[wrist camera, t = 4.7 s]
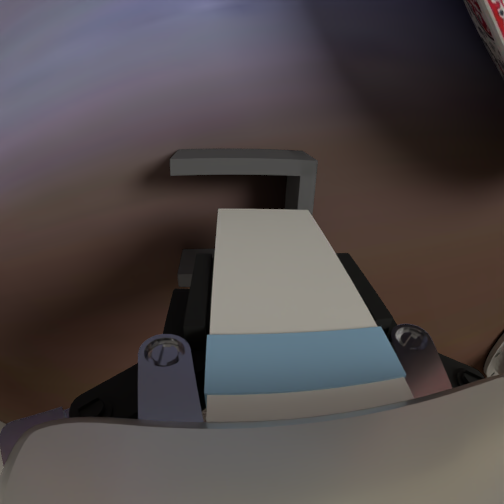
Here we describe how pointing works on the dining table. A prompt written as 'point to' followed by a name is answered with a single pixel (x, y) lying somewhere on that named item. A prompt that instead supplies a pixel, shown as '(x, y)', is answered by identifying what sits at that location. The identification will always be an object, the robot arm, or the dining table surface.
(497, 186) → the dining table surface
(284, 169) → the dark grey bracket
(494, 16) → the ceramic bowl
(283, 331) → the plug
